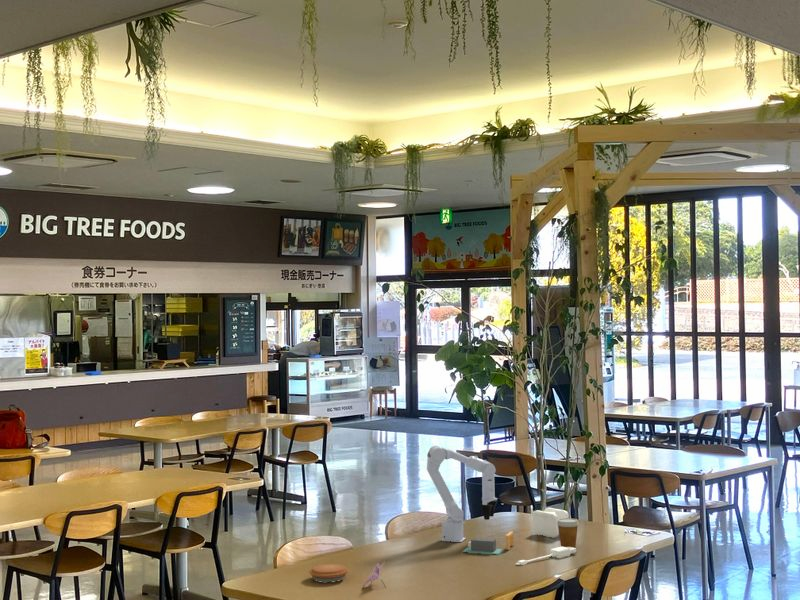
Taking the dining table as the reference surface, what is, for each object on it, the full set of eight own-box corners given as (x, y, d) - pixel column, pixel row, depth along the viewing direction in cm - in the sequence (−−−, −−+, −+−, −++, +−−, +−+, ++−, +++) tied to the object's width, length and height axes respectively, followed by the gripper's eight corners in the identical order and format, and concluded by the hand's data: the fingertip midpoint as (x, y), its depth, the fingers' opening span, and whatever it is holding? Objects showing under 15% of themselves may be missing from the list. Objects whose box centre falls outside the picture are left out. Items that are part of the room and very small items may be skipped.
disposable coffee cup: (578, 545, 426) (577, 517, 426) (580, 550, 416) (579, 522, 417) (556, 544, 427) (556, 517, 427) (558, 549, 417) (557, 522, 418)
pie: (328, 572, 386) (328, 560, 386) (356, 578, 376) (356, 565, 376) (300, 580, 374) (300, 567, 374) (329, 587, 364) (329, 573, 364)
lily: (385, 583, 371) (373, 561, 372) (402, 577, 362) (389, 555, 363) (364, 599, 363) (351, 577, 364) (380, 593, 354) (367, 570, 355)
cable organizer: (570, 536, 444) (570, 511, 444) (555, 539, 437) (554, 514, 438) (546, 531, 456) (546, 506, 456) (531, 534, 449) (530, 509, 449)
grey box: (467, 550, 416) (467, 539, 416) (470, 548, 421) (470, 537, 421) (493, 552, 412) (493, 541, 412) (496, 549, 417) (495, 539, 417)
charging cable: (512, 567, 394) (512, 559, 394) (568, 552, 412) (568, 544, 412) (521, 569, 389) (520, 561, 389) (577, 554, 408) (576, 546, 408)
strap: (505, 549, 419) (505, 535, 419) (510, 544, 427) (510, 531, 427) (509, 549, 418) (509, 535, 418) (513, 545, 426) (513, 531, 426)
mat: (462, 552, 415) (462, 551, 415) (467, 548, 423) (467, 547, 423) (498, 554, 410) (498, 553, 410) (503, 550, 417) (503, 549, 417)
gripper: (492, 491, 435) (493, 521, 434) (500, 486, 448) (501, 515, 448) (477, 490, 437) (478, 520, 437) (486, 485, 451) (486, 514, 450)
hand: (488, 517), depth 442 cm, fingers open, 7 cm apart
